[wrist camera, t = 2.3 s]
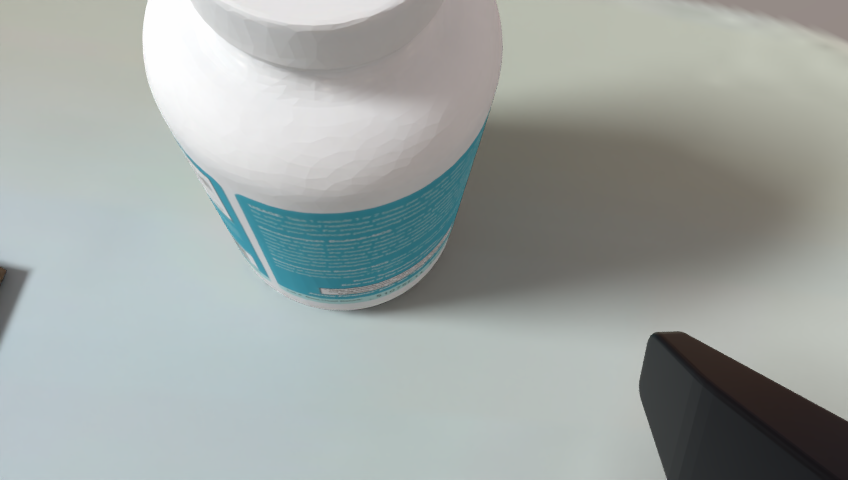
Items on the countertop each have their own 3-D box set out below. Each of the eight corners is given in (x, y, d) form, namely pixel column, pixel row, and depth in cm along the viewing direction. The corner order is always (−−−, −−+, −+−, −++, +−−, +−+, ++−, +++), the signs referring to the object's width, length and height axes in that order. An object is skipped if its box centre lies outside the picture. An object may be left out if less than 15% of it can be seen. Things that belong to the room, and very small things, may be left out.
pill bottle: (487, 176, 25) (619, -143, 12) (384, 357, 22) (410, 203, 9) (307, 81, 25) (247, -321, 12) (188, 246, 23) (-35, -38, 10)
